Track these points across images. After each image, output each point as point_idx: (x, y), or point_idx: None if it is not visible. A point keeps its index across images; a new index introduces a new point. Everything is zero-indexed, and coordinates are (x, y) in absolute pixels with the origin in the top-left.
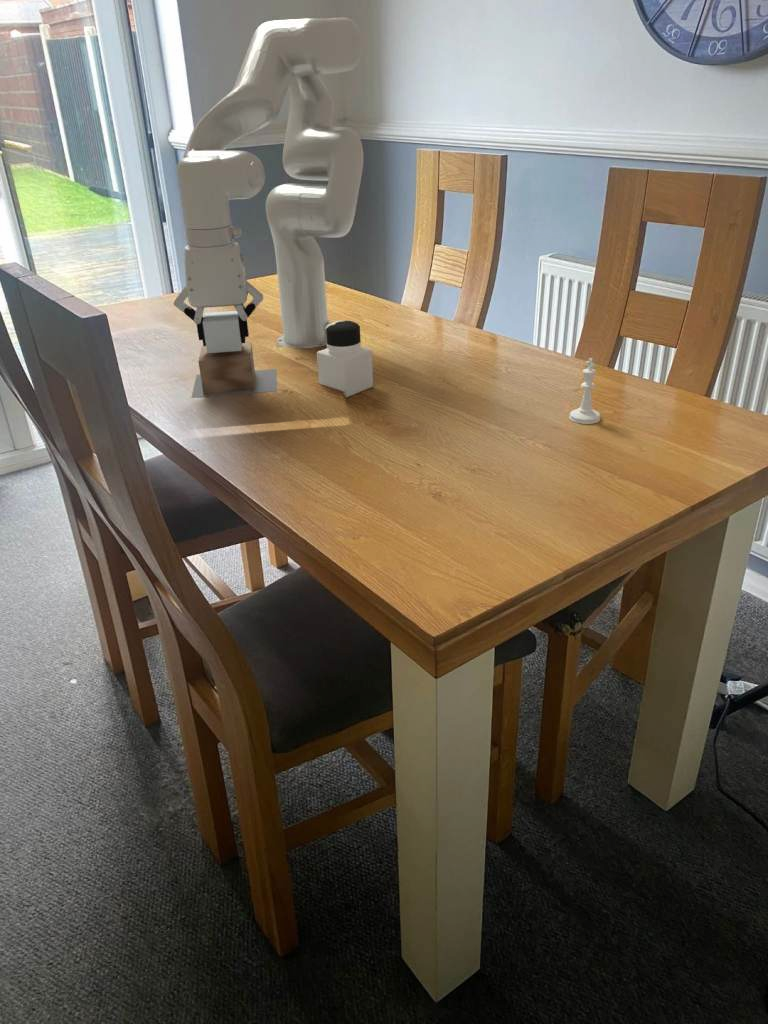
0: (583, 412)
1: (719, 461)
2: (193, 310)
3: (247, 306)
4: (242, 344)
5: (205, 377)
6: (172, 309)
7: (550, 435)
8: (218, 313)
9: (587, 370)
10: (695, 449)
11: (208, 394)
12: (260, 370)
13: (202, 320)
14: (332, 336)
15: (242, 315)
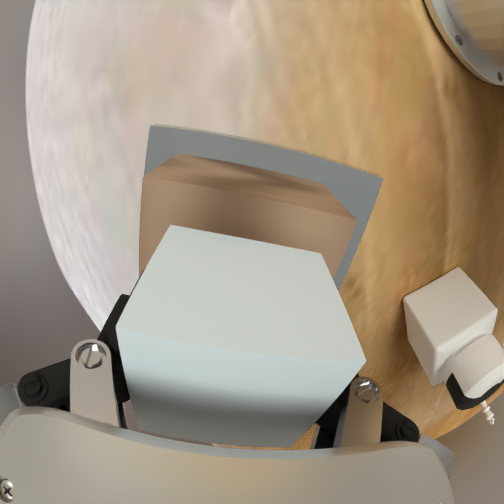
0: None
1: (456, 424)
2: (67, 408)
3: (380, 438)
4: (315, 235)
5: None
6: None
7: (445, 410)
8: (217, 373)
9: (489, 418)
10: (464, 417)
11: None
12: (343, 168)
13: (127, 395)
14: (453, 399)
15: (328, 433)
